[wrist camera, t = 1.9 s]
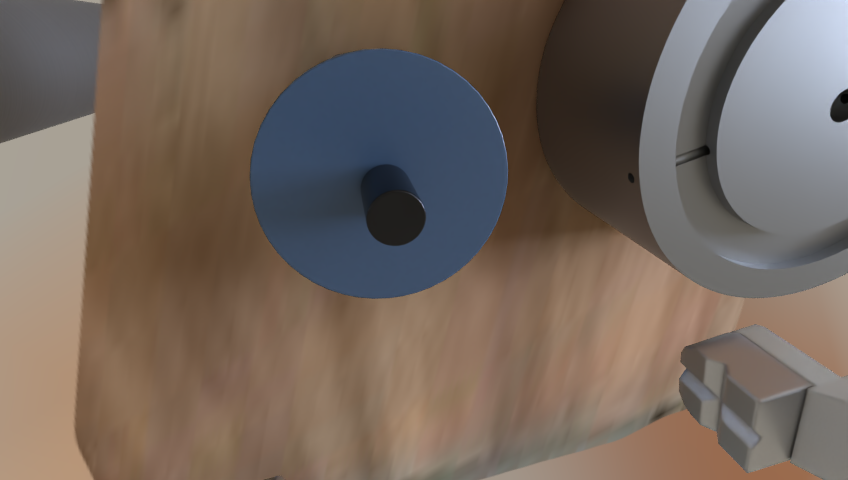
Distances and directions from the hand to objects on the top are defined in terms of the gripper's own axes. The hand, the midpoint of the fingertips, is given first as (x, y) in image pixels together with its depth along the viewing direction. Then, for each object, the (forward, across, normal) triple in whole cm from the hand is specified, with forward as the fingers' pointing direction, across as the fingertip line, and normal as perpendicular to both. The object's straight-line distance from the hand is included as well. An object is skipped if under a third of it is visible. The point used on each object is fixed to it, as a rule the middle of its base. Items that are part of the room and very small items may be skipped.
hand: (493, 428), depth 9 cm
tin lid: (+15, 0, 0) cm, 15 cm away
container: (+28, -26, +2) cm, 38 cm away
